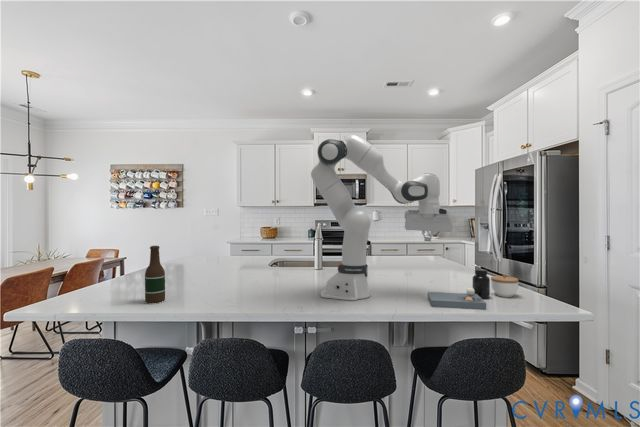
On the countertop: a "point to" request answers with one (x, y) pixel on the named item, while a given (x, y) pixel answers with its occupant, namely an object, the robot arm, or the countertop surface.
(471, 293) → the cream ball
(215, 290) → the countertop surface
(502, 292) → the lidded jar
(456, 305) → the plate
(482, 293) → the supplement bottle
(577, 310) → the countertop surface
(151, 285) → the beer bottle
